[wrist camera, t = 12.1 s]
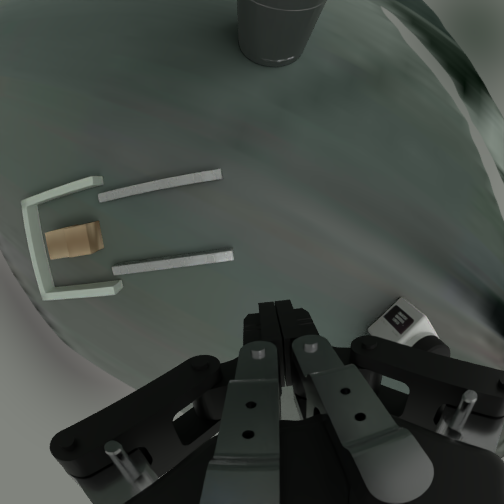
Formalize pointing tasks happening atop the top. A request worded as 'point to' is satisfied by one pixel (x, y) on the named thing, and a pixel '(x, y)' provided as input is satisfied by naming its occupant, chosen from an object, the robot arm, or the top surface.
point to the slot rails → (174, 260)
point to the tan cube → (84, 239)
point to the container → (408, 328)
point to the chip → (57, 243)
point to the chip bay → (39, 250)
